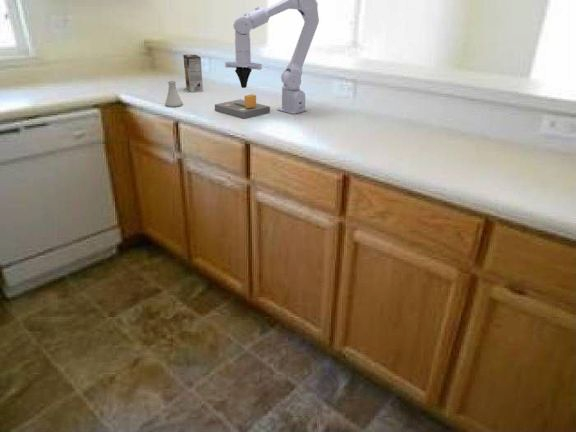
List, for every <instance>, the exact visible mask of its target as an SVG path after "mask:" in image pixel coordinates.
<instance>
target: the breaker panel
mask: <svg viewBox="0 0 576 432" xmlns="http://www.w3.org/2000/svg"><path fill="white" fill-rule="evenodd" d="M214 111H216V112H218V113H222V114H225V115H230V116H232V117H236V118H239V119H243V120H245V119H249V118H253V117H258V116H262V115H266V114H269V113H271V106H270V105H265V104H261V103H258V102H256V107H253V108H246V107H245V99H241V98H240V99H236V100H231V101H226V102H220V103H215V104H214Z"/></svg>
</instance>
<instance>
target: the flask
mask: <svg viewBox="0 0 576 432" xmlns="http://www.w3.org/2000/svg"><path fill="white" fill-rule="evenodd" d="M176 83H177V81H176V80H168V81H167V84H168V91H167V94H166V95H167V96H166V100H165V103H164V106H166V107H170V108H177V107H182V106H183V105H184V102H183V101H182V99H181V96H180V94H179V93H178V90H177V86H176Z"/></svg>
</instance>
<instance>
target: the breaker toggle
mask: <svg viewBox="0 0 576 432" xmlns="http://www.w3.org/2000/svg"><path fill="white" fill-rule="evenodd" d="M243 100H245V107H246V108H253V107H256V103H257V95H256V94H252V93H251V94H246V95H244V98H243Z"/></svg>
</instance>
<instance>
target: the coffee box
mask: <svg viewBox="0 0 576 432" xmlns="http://www.w3.org/2000/svg"><path fill="white" fill-rule="evenodd" d="M182 56H183V66H184V75H185V76H184V78H185V79H184V80H185V88H186V90H187V91H189V93H199V92H201V93H202V92H203V91H204V88H203V85H204V84H203V73H202V71H203V69H202V57H201V56H199V55H197V54H183V55H182Z"/></svg>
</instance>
